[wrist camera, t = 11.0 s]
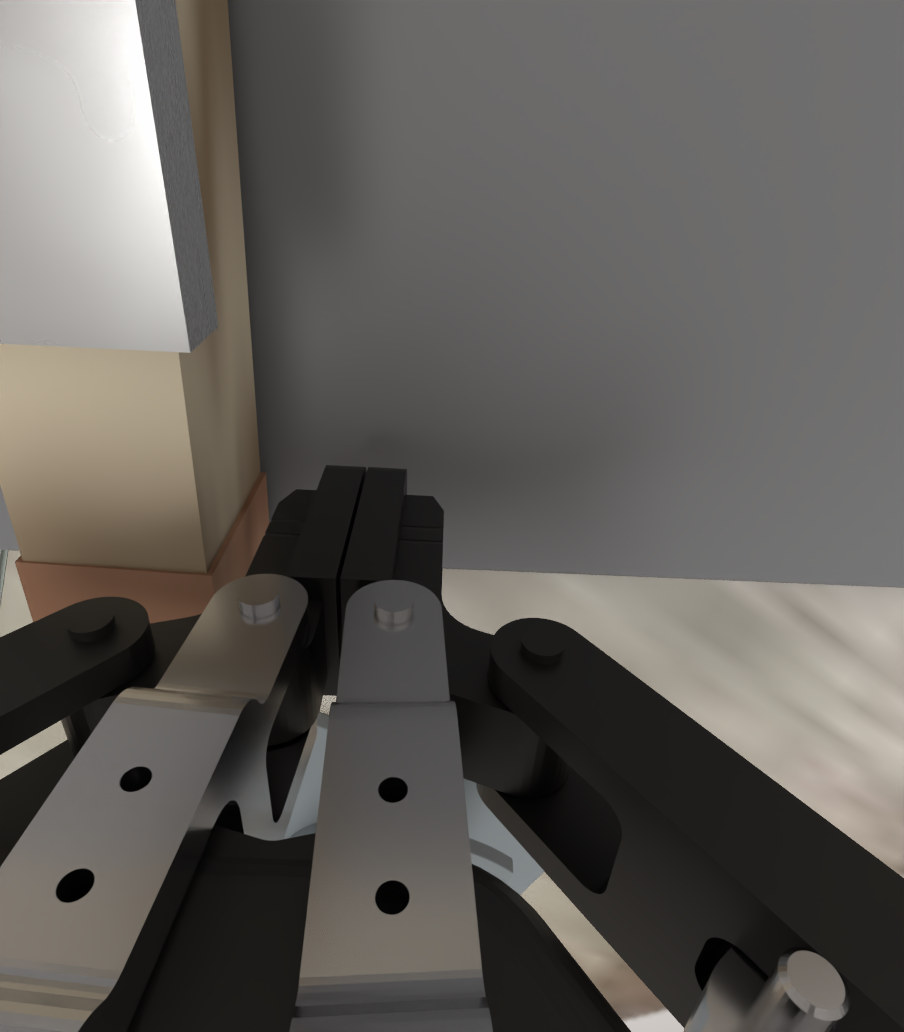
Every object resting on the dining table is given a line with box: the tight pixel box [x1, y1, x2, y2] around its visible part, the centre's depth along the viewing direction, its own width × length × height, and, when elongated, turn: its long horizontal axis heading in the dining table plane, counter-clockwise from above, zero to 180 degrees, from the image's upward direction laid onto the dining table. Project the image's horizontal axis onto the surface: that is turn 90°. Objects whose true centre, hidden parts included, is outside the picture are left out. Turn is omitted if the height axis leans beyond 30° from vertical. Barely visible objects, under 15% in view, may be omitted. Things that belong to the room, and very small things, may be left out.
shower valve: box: [284, 712, 544, 895], centre depth 21 cm, size 12×6×15 cm
